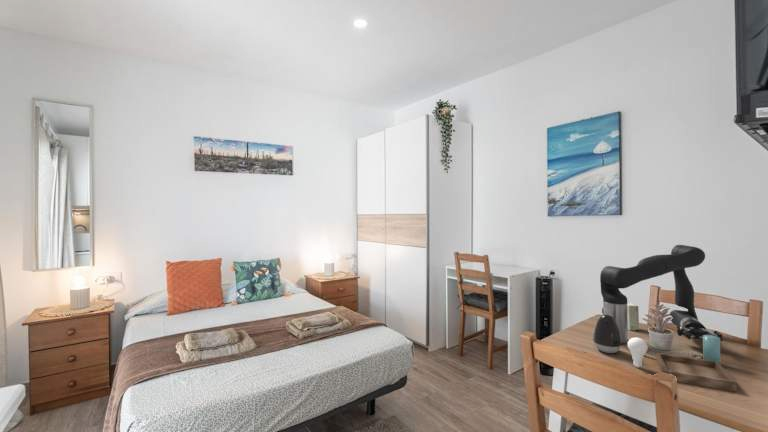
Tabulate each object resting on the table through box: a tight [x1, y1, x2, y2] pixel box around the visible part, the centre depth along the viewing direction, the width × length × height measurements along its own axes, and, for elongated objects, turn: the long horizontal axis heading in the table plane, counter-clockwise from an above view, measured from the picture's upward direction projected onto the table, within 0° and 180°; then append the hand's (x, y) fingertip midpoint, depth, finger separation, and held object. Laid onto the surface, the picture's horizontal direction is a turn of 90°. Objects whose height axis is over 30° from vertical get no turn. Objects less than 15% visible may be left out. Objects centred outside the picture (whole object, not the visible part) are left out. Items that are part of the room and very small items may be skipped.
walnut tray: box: [655, 352, 737, 393], centre depth 124 cm, size 18×18×3 cm
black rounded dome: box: [592, 314, 623, 354], centre depth 146 cm, size 10×10×15 cm
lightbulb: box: [627, 337, 649, 369], centre depth 130 cm, size 6×6×11 cm
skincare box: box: [627, 302, 640, 331], centre depth 174 cm, size 6×4×12 cm
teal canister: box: [702, 335, 721, 365], centre depth 133 cm, size 5×5×10 cm
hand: (703, 338), depth 143 cm, fingers open, 8 cm apart
